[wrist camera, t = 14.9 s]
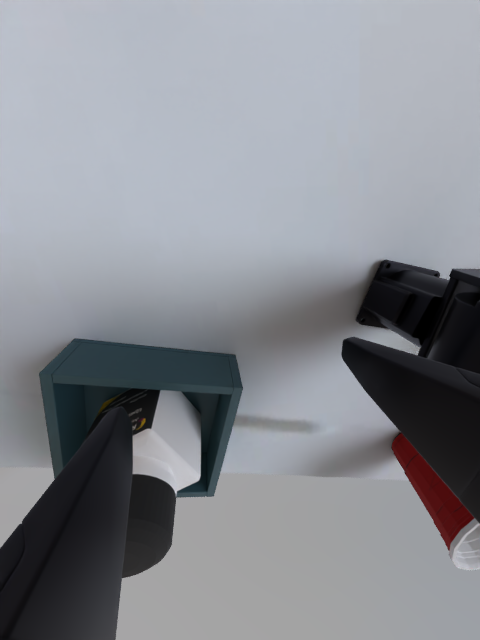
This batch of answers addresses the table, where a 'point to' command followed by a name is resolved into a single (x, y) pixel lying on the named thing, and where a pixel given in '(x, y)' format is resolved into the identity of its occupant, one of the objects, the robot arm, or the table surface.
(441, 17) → the table surface
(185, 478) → the medicine bottle
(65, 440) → the bin
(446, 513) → the plastic cup
